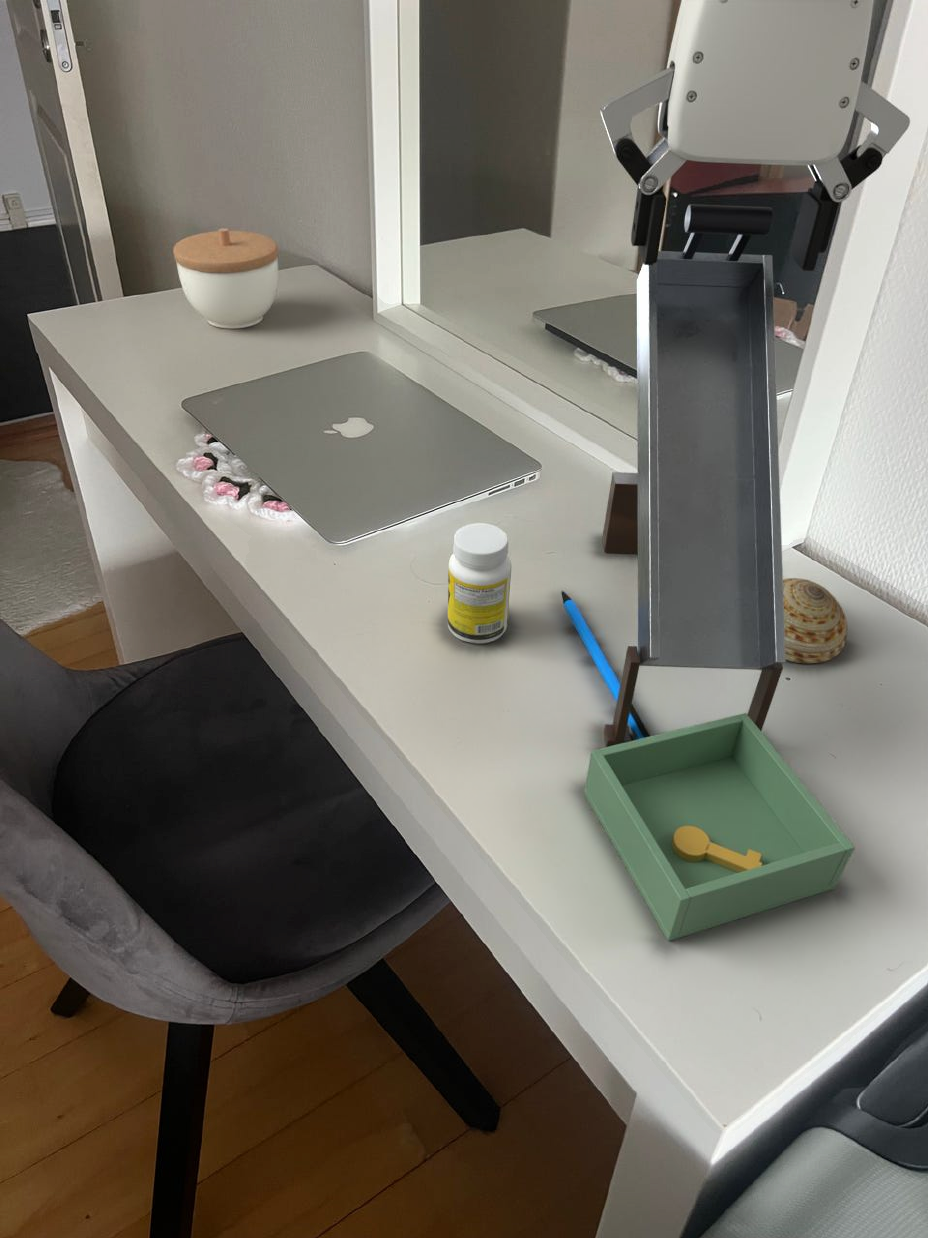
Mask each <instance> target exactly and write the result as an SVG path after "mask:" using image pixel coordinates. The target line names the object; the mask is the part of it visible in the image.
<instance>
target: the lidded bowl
mask: <svg viewBox="0 0 928 1238" xmlns="http://www.w3.org/2000/svg"><path fill="white" fill-rule="evenodd" d="M172 251H173V257H174V260H175V262H176V268H177V269H176V270H177V273H178V277H179V281H180V285H181V287H182V290H183V293H184V296H185V297H186V299H187V301H188V303H189V304H190V305H191V307H192V308H193V309H194V310H195V312H197V313H198V314H199V315H200V316H202V317H203V318H204V319H206V322H207V323H208V324H209V325H211V326H213V327H216V328H222V329H231V330H232V329H235V330H237V329H244V328H249V327H253V326H255V325H258V324H259V323H261V322H262V321H263V319H264V316H265V315H266V314H267V312H268V311H269V310H270V308H271V307H272V306H273V304H274V302H275V300H276V296H277V293H278V288H279V276H280V275H279V262H278V261H279V260H278V259H279V258H278V257H279V247H278V244H277V243H276V241H275V240H274V239H273V238H271V237H269V236H267V235H264V234H261V233H257V232H253V231H252V232H251V231H243V230H229V228H225V227H223V228H222V227H221V228H218V230H216V231H207V232H201V233H198V234H193V235H190V236H187V237H185V238H183V239H181V240H179V241H178V242H176V243H175V244H174V246H173V249H172Z"/></svg>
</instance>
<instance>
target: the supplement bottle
mask: <svg viewBox="0 0 928 1238" xmlns="http://www.w3.org/2000/svg"><path fill="white" fill-rule="evenodd" d="M452 552H453V553H452V554H451V556H450V558H449V560H448V575H447V577H448V578H447V627H448V630H449V631H450V633H451V634H452V635H453V636H454V637H455V638H457V639H458V640H461V641H463V642H466V643H471V644H480V645H481V644H488V643H492V642H494V641H497V640H498V639H499V638H501V637H502V636H503V635H504V634H505V632H506V630H507V628H508V620H509V606H510V591H511V590H510V589H511V579H512V578H511V577H512V561H511V559H510V556H509V555H508V554H509V536H508V535H507V533H506V532H505V530H504V529H502V528H500V527H499V526H497V525H493V524H491V523H484V522H483V523H482V522H475V523H469V524H466V525H463V526H462V527H460V528H458V529H457V530H456V532H455V533H454V538H453V546H452Z"/></svg>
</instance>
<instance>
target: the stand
mask: <svg viewBox="0 0 928 1238" xmlns="http://www.w3.org/2000/svg"><path fill="white" fill-rule="evenodd" d="M606 506H607V507H606V512H605V519H604V524H603V531H602V536H601V537H602V538H601V540H602V541H601V542H602V548H603V552H604V553H605V554H632V555H633V554H636V555H638V472H623V471H613V472H612V473H611V480H610V484H609V492H608V499H607V505H606ZM640 667H641V666H640V659H639V654H638V645H628V646H627V649H626V654H625V659H624V664H623V669H622V674H621V679H620V689H619V694H618V699H617V703H616V705H615V709H614V715H613V721H612V724H609V723H608V724H605V725H604V729H603V737H604V743H605V748H606V747H610V746H614V745H618V744H622V743H626V742H630V741H632V740H631V739H632V738H631V733H630V727H629V725H628V719H629V714H630V709H631V704H633V699H634V694H635V690H636V683H637V679H638V675H639V671H640ZM783 670H784V665H783V664H780V665H777V666H775V667H772V668H769V669H766V670H760V671H761V672H760V675H759V678H758V681H757V684H756V687H755V690H754V693H753V696H752V700H751V701H750V702H751V703H750V705H749V708H748V712H747V713H746V714H747V715H748V716H749V717H750V719H751V720H752V721H753V722H754V724H755V725H756V726H757V727H758V728H759V730H760V731H761V732H762V730H763V727H764V725H765V723H766V719H767V716H768V713H769V711H770V708H771V704H772V702H773V699H774V696H775V693H776V690H777V687H778V684H779V682H780V678H781V677H782V676H781V675H782V672H783Z"/></svg>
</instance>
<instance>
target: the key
mask: <svg viewBox="0 0 928 1238" xmlns="http://www.w3.org/2000/svg"><path fill="white" fill-rule="evenodd" d="M672 848H673V850H674V852H675V853H676V854H677V855H678V856H679V857H680V858H682V859H683V860H686V861H689V862H698V861H701V860H703V859H706V860H709V861H711V862H713V863H716V864H718V865H721V866H723V867H726V868H728V869H730V870H733V871H735V872H738V873H740V872H743V871H746V870H750V869H753V868H756V867H760V866H762V865H763V864H762V862H760V859H761V856H762V854H760V853H758V852H755V851H753V850H750V849H749V850H748V852H747V855H746V856H744V855H742V854H739V853H737V852H734V851H732V850H729V849H727V848H724V847H722V846H719V845H717V844H714V843H712V842H710V840H709V837H708V836H707V834H706V833H705V832H704V831H702V830H701V829H699V828H697V827H694V826H683V827H680V828H679V829H677V830H676V832H675V833H674V836H673V840H672Z"/></svg>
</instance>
